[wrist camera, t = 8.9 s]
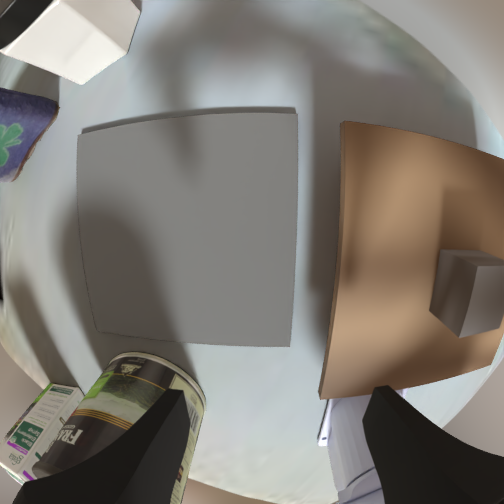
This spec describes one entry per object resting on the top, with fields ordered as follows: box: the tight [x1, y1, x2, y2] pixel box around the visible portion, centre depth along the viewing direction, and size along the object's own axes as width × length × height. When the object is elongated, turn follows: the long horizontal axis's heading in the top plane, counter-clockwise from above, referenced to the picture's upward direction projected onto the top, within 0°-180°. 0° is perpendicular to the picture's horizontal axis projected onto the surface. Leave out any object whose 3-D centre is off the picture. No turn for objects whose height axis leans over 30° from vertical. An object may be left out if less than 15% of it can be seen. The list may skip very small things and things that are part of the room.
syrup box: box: [0, 383, 85, 486], centre depth 17 cm, size 6×6×14 cm
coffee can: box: [32, 352, 206, 504], centre depth 15 cm, size 10×10×14 cm
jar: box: [0, 0, 140, 85], centre depth 9 cm, size 9×8×12 cm
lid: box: [318, 121, 504, 400], centre depth 11 cm, size 15×15×4 cm
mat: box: [77, 113, 298, 347], centre depth 18 cm, size 16×16×1 cm
